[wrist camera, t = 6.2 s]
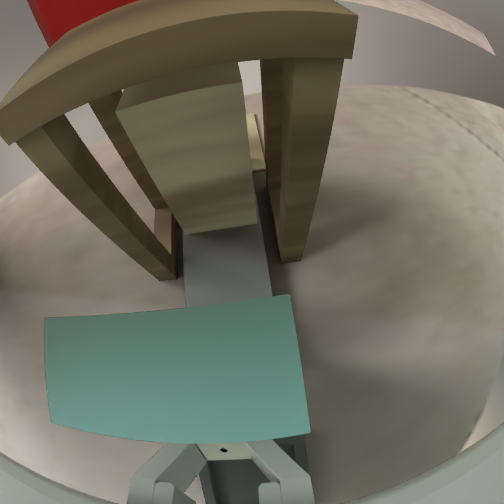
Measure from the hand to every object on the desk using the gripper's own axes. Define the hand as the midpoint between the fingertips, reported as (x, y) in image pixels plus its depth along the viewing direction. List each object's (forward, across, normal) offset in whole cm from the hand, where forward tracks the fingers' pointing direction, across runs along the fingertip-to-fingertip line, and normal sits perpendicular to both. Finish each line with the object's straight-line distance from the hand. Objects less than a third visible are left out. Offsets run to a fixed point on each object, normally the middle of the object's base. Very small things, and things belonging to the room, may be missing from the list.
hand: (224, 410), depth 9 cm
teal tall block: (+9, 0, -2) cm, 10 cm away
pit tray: (0, 0, +8) cm, 8 cm away
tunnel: (+11, 0, -4) cm, 12 cm away
